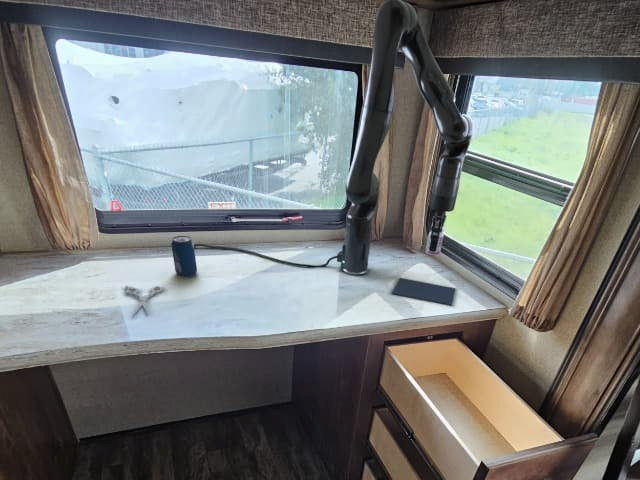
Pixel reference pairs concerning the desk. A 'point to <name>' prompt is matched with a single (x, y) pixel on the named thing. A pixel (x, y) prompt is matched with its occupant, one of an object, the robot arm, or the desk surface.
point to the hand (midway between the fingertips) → (433, 248)
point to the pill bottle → (437, 244)
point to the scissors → (142, 299)
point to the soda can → (184, 256)
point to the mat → (424, 291)
